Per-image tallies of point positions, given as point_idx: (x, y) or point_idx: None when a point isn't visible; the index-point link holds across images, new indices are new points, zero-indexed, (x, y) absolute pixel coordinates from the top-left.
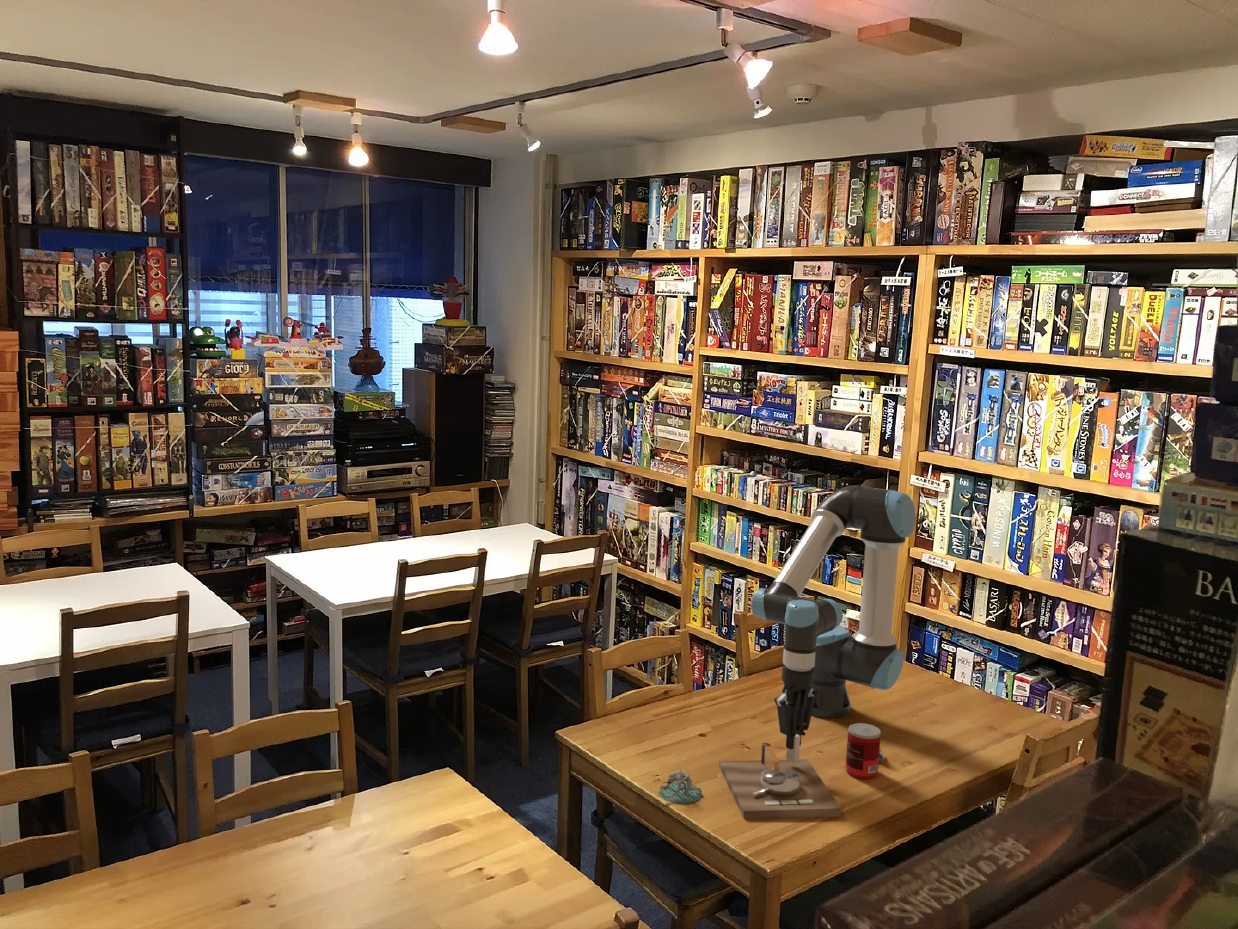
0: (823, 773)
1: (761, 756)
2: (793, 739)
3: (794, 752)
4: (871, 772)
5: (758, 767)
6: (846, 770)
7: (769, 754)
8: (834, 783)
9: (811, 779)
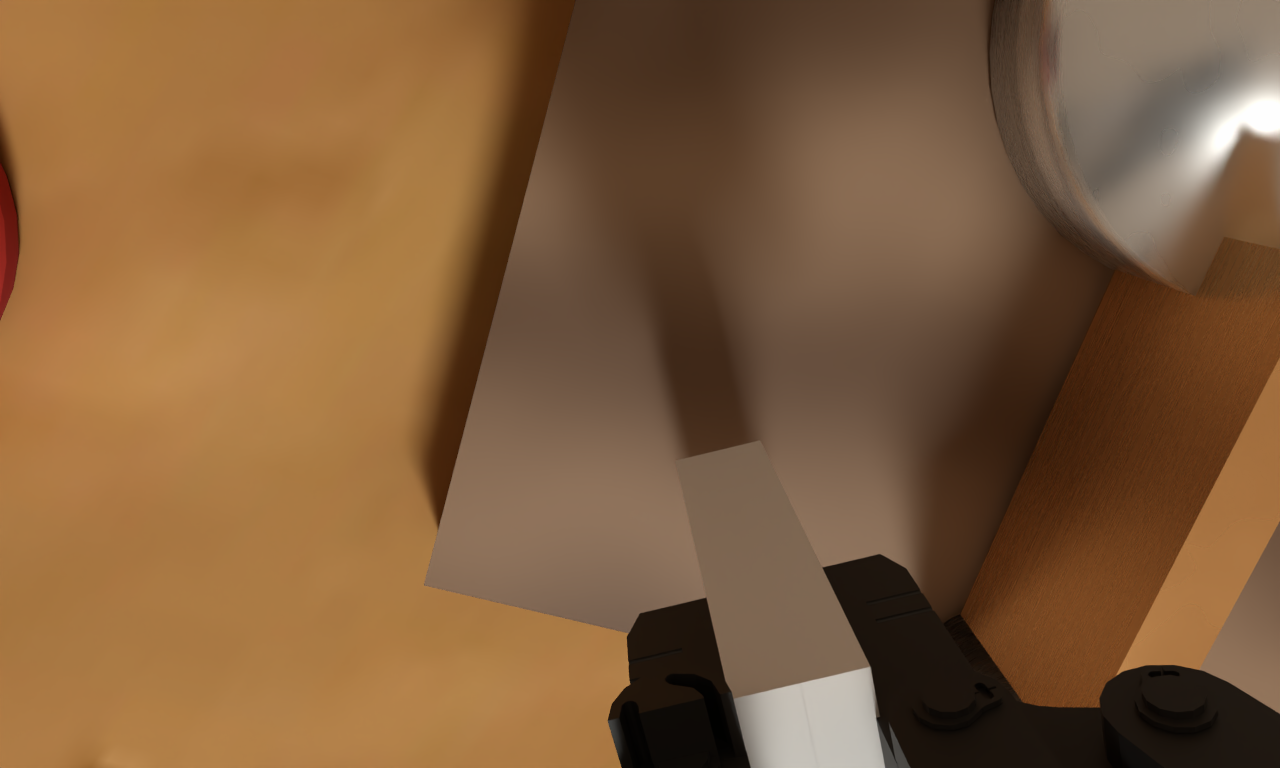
0: (327, 352)
1: None
2: (873, 671)
3: (794, 518)
4: None
5: None
6: (7, 290)
7: (1255, 547)
8: (330, 80)
9: (699, 84)
